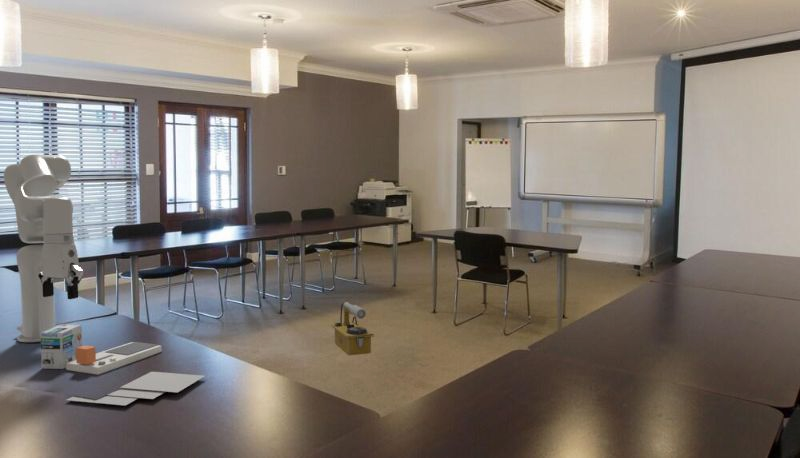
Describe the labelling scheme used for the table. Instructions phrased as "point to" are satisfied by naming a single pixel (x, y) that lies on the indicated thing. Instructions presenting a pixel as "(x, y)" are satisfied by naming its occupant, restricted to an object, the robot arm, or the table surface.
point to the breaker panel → (116, 357)
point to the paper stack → (145, 388)
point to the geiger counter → (352, 332)
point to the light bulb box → (60, 345)
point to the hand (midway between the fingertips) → (60, 297)
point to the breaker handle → (85, 355)
